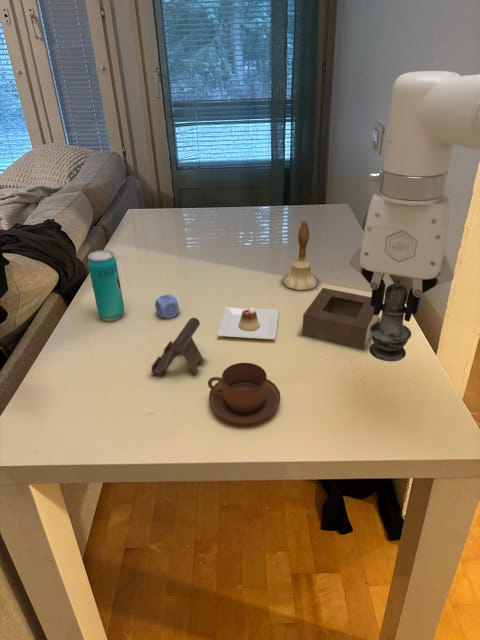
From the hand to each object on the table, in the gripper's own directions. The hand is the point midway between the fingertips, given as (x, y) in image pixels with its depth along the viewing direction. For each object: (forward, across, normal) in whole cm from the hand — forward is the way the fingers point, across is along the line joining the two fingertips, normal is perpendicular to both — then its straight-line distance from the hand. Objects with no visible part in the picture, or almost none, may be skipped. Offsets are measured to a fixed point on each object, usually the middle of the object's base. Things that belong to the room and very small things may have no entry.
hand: (393, 312), depth 67 cm
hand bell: (+19, -28, +40) cm, 52 cm away
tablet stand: (+19, -37, -2) cm, 41 cm away
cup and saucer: (+19, -21, -7) cm, 29 cm away
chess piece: (+7, 0, 0) cm, 7 cm away
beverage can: (+18, -61, +7) cm, 64 cm away
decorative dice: (+19, -50, +13) cm, 55 cm away
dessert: (+19, -31, +16) cm, 40 cm away
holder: (+19, -13, +24) cm, 33 cm away
